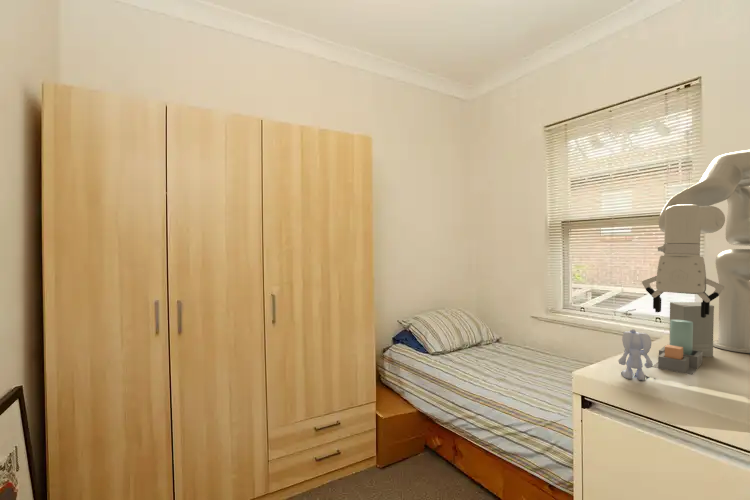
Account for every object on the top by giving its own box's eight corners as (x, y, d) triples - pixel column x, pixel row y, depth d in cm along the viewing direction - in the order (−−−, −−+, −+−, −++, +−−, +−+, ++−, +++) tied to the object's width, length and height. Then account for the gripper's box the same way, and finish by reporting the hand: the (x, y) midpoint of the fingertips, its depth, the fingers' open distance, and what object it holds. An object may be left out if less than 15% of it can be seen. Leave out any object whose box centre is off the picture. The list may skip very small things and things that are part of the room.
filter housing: (665, 359, 108) (665, 345, 108) (702, 366, 102) (702, 351, 102) (651, 370, 98) (652, 355, 98) (691, 378, 92) (692, 362, 92)
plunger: (667, 363, 99) (667, 344, 99) (682, 366, 96) (683, 347, 96) (664, 366, 97) (664, 346, 97) (680, 369, 94) (680, 349, 94)
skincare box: (696, 353, 114) (697, 301, 114) (715, 360, 107) (716, 304, 107) (666, 352, 115) (667, 300, 115) (683, 359, 108) (684, 304, 108)
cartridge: (671, 358, 105) (672, 318, 105) (693, 362, 102) (694, 321, 102) (667, 361, 102) (668, 320, 102) (690, 365, 99) (691, 323, 99)
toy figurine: (648, 376, 93) (649, 327, 93) (654, 384, 88) (655, 332, 88) (615, 372, 96) (616, 324, 96) (619, 379, 91) (620, 329, 90)
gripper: (639, 250, 106) (638, 311, 106) (723, 251, 93) (721, 320, 93) (646, 250, 111) (645, 309, 111) (727, 251, 98) (725, 318, 98)
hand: (680, 314), depth 102 cm, fingers open, 9 cm apart
